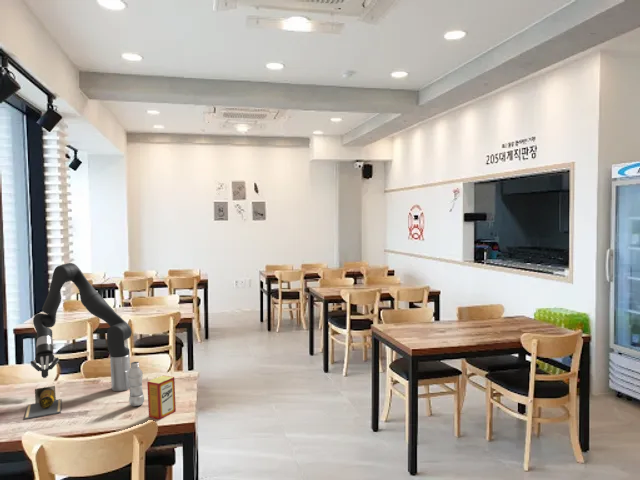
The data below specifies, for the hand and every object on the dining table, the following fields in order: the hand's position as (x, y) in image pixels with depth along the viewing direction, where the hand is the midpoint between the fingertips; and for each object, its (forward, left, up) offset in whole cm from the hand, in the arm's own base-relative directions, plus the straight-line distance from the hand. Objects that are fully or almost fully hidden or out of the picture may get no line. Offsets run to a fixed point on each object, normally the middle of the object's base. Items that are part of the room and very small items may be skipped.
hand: (44, 377), depth 241 cm
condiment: (-5, +7, -6) cm, 11 cm away
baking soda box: (-69, +16, -10) cm, 72 cm away
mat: (-11, +15, -10) cm, 21 cm away
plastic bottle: (-52, +7, -10) cm, 53 cm away
